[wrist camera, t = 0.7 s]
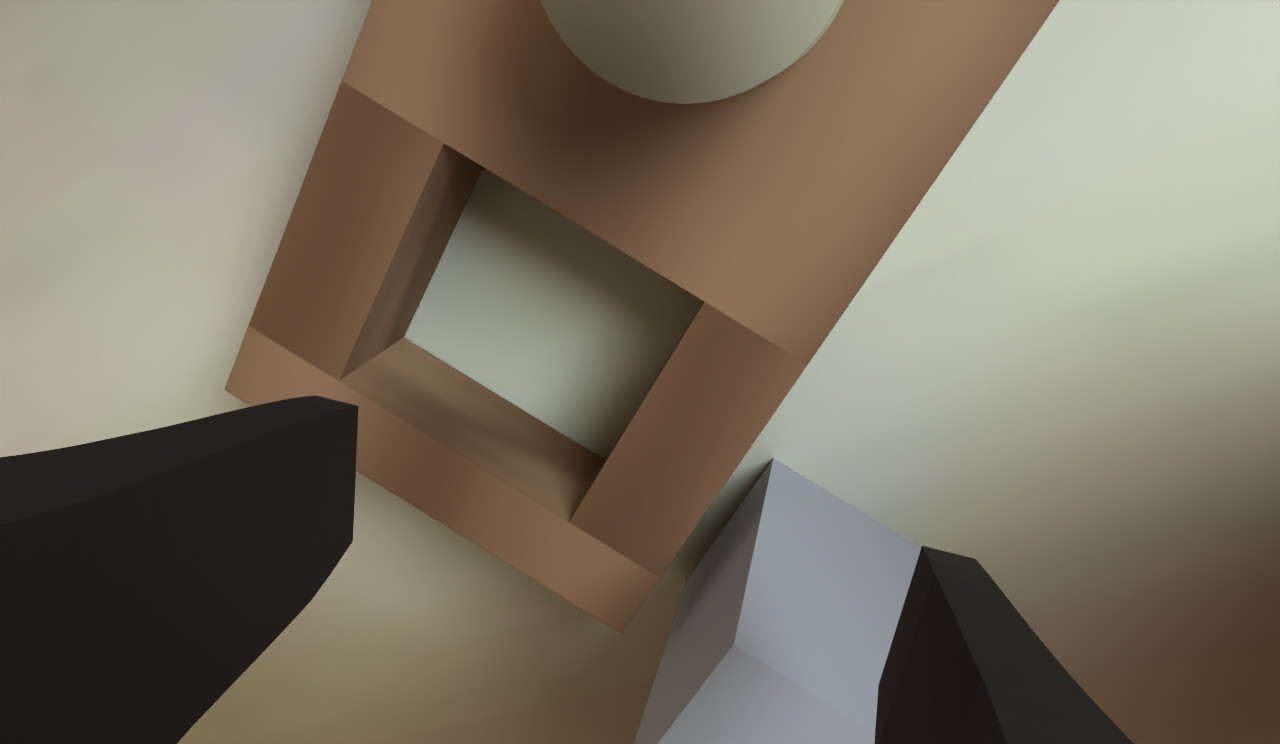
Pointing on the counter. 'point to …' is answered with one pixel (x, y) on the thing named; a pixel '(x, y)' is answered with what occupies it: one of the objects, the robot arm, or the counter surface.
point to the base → (612, 236)
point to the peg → (783, 624)
